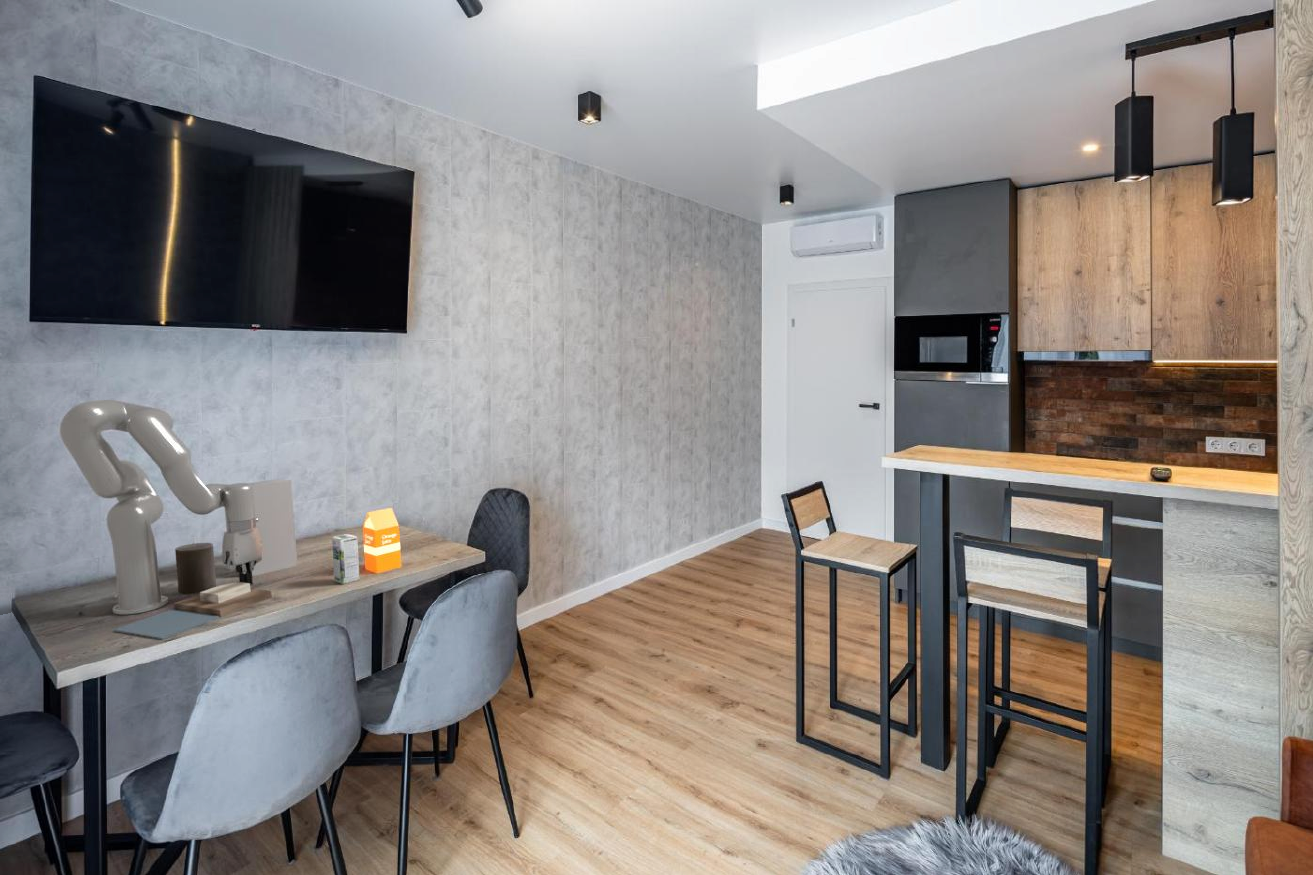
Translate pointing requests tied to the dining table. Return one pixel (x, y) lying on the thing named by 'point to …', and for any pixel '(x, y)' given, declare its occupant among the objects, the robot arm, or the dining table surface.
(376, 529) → the orange juice
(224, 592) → the tile
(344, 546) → the syrup box
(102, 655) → the dining table surface
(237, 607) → the board
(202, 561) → the pillar candle
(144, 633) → the mat
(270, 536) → the tall grey block
